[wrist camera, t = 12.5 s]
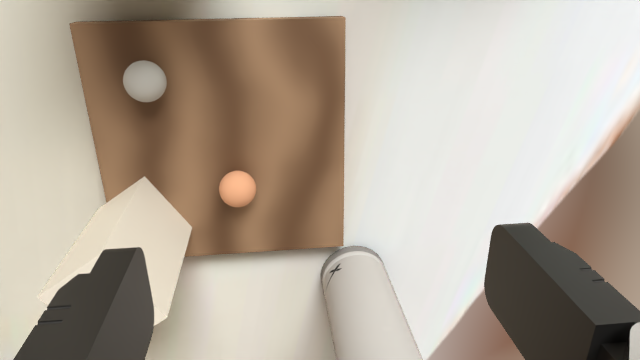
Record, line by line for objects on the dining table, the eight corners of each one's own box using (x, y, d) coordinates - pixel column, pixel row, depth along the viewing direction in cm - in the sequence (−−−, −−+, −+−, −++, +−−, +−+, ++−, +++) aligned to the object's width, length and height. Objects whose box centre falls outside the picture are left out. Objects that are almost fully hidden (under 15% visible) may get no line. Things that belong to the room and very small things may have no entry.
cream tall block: (144, 176, 40) (99, 254, 29) (192, 227, 42) (167, 317, 31) (98, 208, 40) (36, 297, 29) (147, 257, 43) (107, 356, 32)
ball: (222, 198, 41) (219, 214, 39) (218, 166, 40) (215, 180, 37) (257, 196, 42) (257, 212, 39) (255, 164, 40) (254, 178, 38)
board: (123, 252, 44) (118, 260, 43) (76, 21, 36) (69, 23, 35) (340, 237, 46) (343, 245, 44) (342, 16, 38) (345, 17, 36)
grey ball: (132, 97, 37) (122, 107, 34) (125, 57, 36) (114, 65, 33) (172, 96, 37) (165, 106, 35) (167, 56, 36) (159, 63, 33)
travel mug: (312, 252, 46) (344, 436, 28) (379, 238, 46) (455, 412, 28) (322, 304, 49) (358, 504, 30) (386, 291, 49) (460, 481, 31)
